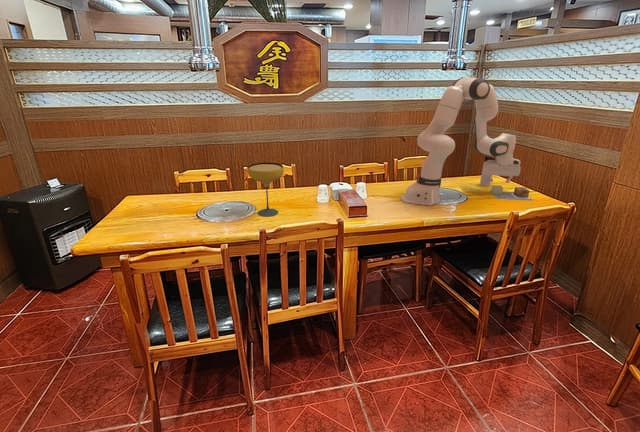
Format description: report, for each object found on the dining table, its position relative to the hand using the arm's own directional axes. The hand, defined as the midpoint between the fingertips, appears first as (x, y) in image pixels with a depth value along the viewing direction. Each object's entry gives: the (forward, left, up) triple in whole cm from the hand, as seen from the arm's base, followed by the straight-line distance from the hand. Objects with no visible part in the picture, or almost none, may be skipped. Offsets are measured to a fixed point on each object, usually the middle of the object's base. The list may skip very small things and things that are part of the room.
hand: (499, 182), depth 211 cm
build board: (+7, -5, -8) cm, 11 cm away
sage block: (0, 0, -7) cm, 7 cm away
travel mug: (-3, +14, -8) cm, 17 cm away
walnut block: (+12, -5, -7) cm, 14 cm away
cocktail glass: (-131, -53, -8) cm, 142 cm away
